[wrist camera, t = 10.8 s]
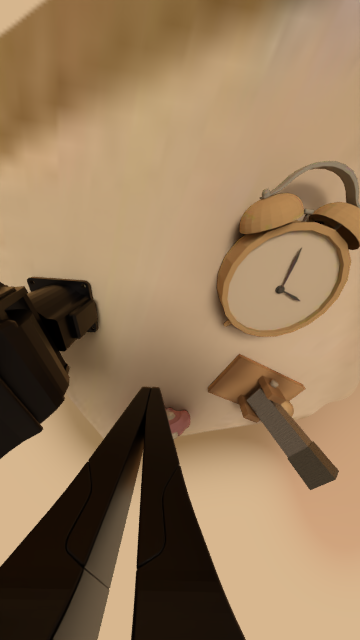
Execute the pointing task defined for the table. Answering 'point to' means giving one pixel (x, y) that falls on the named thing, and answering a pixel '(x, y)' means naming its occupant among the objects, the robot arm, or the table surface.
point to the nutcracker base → (254, 385)
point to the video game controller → (177, 421)
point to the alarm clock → (289, 258)
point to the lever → (294, 442)
